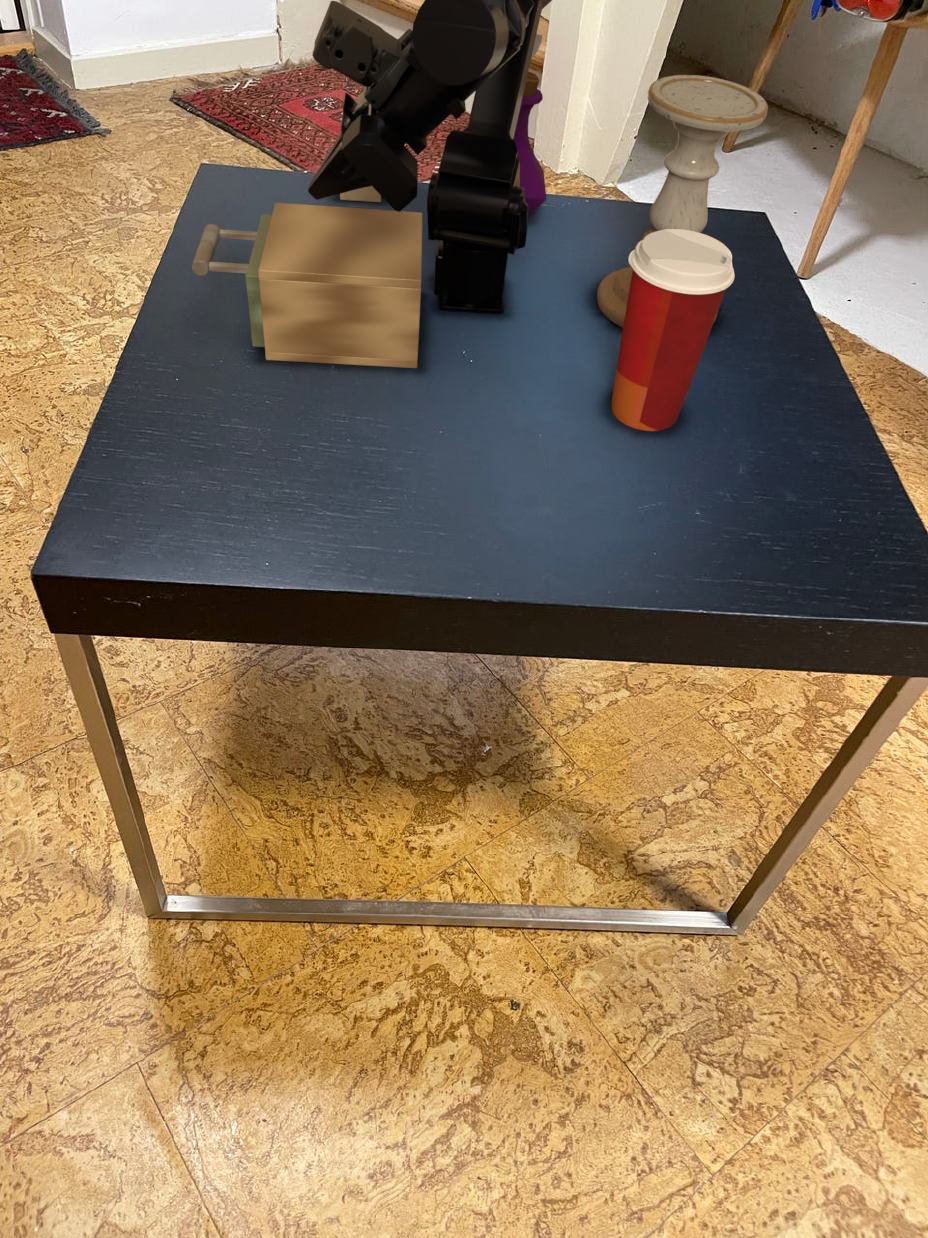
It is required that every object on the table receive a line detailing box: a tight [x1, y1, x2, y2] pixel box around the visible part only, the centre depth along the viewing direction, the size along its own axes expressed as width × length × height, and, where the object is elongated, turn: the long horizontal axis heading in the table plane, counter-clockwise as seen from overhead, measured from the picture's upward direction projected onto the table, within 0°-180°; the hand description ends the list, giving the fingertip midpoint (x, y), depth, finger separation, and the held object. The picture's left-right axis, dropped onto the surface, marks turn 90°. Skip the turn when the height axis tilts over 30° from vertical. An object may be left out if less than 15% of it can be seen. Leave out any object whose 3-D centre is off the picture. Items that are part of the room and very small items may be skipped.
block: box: [339, 186, 382, 203], centre depth 108 cm, size 5×5×5 cm
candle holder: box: [596, 74, 769, 329], centre depth 90 cm, size 12×12×20 cm
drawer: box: [191, 213, 272, 348], centre depth 86 cm, size 17×11×7 cm, turn 91°
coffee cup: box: [611, 229, 736, 432], centre depth 79 cm, size 8×8×15 cm
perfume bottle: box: [513, 33, 547, 219], centre depth 103 cm, size 8×8×18 cm
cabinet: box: [258, 202, 423, 369], centre depth 87 cm, size 14×13×9 cm
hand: (312, 193), depth 80 cm, fingers closed
